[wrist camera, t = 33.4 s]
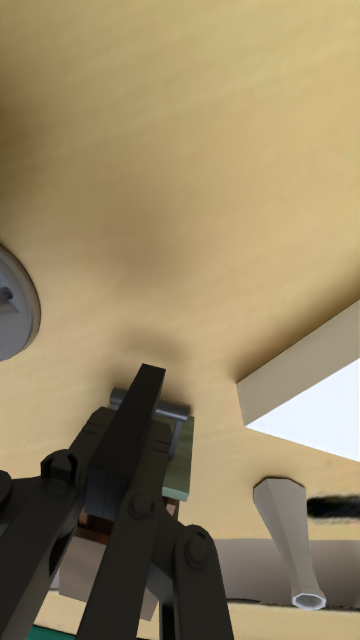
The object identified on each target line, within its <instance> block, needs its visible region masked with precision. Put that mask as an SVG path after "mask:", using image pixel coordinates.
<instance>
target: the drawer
mask: <svg viewBox="0 0 360 640" xmlns="http://www.w3.org/2000/svg"><path fill="white" fill-rule="evenodd" d="M128 390H129V389H125V388H121V387H117V386H115V387H114V389H113V390H112V393H111V396H110V400H109V402H110V405H109V406H108V408H110V409H113V410H118V408H119V406H120V404H121V403H122V401H123V399H124V397H125V395H126V393H127V392H128ZM189 409H190V406H189V405H186V404H182V403H179V402H175V401H171V400H167V399H163V398H159V402H158V406H157V409H156V412H155V415H154V419H153V420H157V421H161V422H164V423H168V424H170V426H171V430H172V439H171V444H170V450H169V455H168V461H167V466H166V472H165V477H164V483H163V488H162V497H163V502H164V505H165V507H166V509H167V510H168V512H169V513H170V514H171V515H172V516H173V513H174V510H175V507H176V500H181V501H184V502H186V501H187V498H188V495H189V488H190V474H191V460H192V445H193V431H194V417H192V416H188V415H189ZM113 524H114V521H111V520H108V519H105V518H101V517H98V516H94V515H91V514H87V513H84V507H83V510H82V512H81V514H80V516H79V527H81V528H85V529H88V530H92V531H95V532H99V533H102V534H106V535H109V536H110V533H111V530H112V527H113Z"/></svg>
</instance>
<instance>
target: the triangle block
mask: <svg viewBox="0 0 360 640" xmlns="http://www.w3.org/2000/svg"><path fill="white" fill-rule="evenodd" d="M236 388H237V392H238V397H239V402H240V407H241V412H242V417H243V422H244V427H247V428H250V429H253V430H256V431H260V432H263V433H266V434H270V435H273V436H276V437H279V438H283V439H286V440H289V441H293V442H296V443H299V444H302V445H306V446H309V447H312V448H315V449H319V450H322V451H325V452H329V453H332V454H335V455H338V456H342V457H345V458H348V459H352V460H355V461H358V462H360V299H359V300H358V301H356V302H355V303H353V304H352V305H351V306H349V307H348V308H346V309H345V310H343V311H342V312H340V313H339V314H337V315H336V316H335V317H333V318H332V319H330V320H329V321H327V322H326V323H324V324H323V325H321V326H320V327H319V328H317V329H316V330H314V331H313V332H311V333H310V334H308V335H307V336H305V337H304V338H302V339H301V340H300V341H298V342H297V343H295V344H294V345H292V346H291V347H289V348H288V349H286V350H285V351H284V352H282V353H281V354H279V355H278V356H276V357H275V358H273V359H272V360H270V361H269V362H267V363H266V364H265V365H263V366H262V367H260V368H259V369H257V370H256V371H254V372H253V373H251V374H250V375H249V376H247V377H246V378H244V379H243V380H241V381H240V382H238V383H237V384H236Z"/></svg>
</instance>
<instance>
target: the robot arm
mask: <svg viewBox="0 0 360 640" xmlns="http://www.w3.org/2000/svg"><path fill="white" fill-rule="evenodd" d="M39 324H40V307H39V302H38V298H37V294H36V292H35V289H34V287H33V284H32V282H31V280H30V279H29V277H28V275H27V273H26V272H25V271H24V269H23V268H22V266H21V265H20V264H19V263H18V261H17V260H16V259H15V258H14V257H13V256H12V255H11V254H10V253H9V252H8V251H7V250H5V249H4V248H3V247H2V246H0V361H3V360H6V359H9V358H11V357H13V356H14V355H16V354H18V353H19V352H21V351H23V350H24V349H26V348H27V347H28V346H29V345H30V344H31V343H32V342H33V340H34V338H35V337H36V334H37V332H38V329H39ZM165 371H166V369H163V368H159V367H155V366H151V365H147V364H144V363H143V364H142V366H141V367H140V369H139V371H138V373H137V375H136V377H135V379H134V380H133V382H132V384H131V386H130V388H129V390H128V392H127V393H126V395H125V397H124V399H123V401H122V403H121V404H120V406H119V408H118V410H113V409H110V408H106V407H100V408H99V409H98V410H96V411H95V412H94V413H92V415H91V416H90V418H89V419H88V421H87V423H86V424H85V425H84V427H83V428H82V430H81V431H80V433H79V434H78V436H77V437H76V439H75V440H74V442H73V443H72V445H71V446H70V448H69V449H62V450H58V451H55V452H53V453H51V454H50V455H48V456H47V457H46V458H45V459H44V460H43V461H42V462H41V475H40V476H37V477H32V478H20V479H11V476H10V475H9V474H8V472H5V471H2V470H0V640H26V639H27V636H28V634H29V632H30V630H31V628H32V625H33V623H34V621H35V619H36V617H37V614H38V612H39V610H40V608H41V606H42V604H43V601H44V599H45V597H46V595H47V593H48V590H49V588H50V586H51V584H52V582H53V579H54V577H55V575H56V573H57V571H58V568H59V566H60V564H61V562H62V560H63V557H64V555H65V553H66V551H67V549H68V547H69V544H70V542H71V540H72V538H73V536H74V533H75V530H76V527H77V520H78V518H79V516H80V514H81V512H82V510H83V507H84V513H87V514H91V515H94V516H98V517H101V518H105V519H108V520H111V521H114V524H113V527H112V530H111V533H110V536H109V539H108V542H107V545H106V548H105V551H104V554H103V557H102V560H101V563H100V566H99V569H98V572H97V575H96V578H95V581H94V584H93V587H92V590H91V592H90V595H89V598H88V601H87V604H86V607H85V610H84V613H83V616H82V619H81V622H80V625H79V628H78V631H77V634H76V637H75V640H136V636H137V630H138V625H139V619H140V614H141V608H142V603H143V597H144V592H145V587H146V588H147V589H148V590H149V591H150V592H151V593H152V594H153V595H154V596H155V597H156V598H157V599H158V600H159V637H160V640H234V635H233V630H232V625H231V620H230V615H229V610H228V605H227V600H226V595H225V590H224V585H223V579H222V574H221V569H220V564H219V559H218V554H217V550H216V547H215V544H214V541H213V539H212V538H211V536H210V535H209V533H208V532H207V531H206V530H205V529H203V528H202V527H201V526H198V525H193V524H192V525H189V526H184V525H183V524H182V523H180V522H179V521H178V520H176V519H175V518H174V517H173V516H172V515H171V514H170V513H169V512H168V510H167V509H166V507H165V505H164V502H163V497H162V488H163V483H164V477H165V472H166V466H167V461H168V455H169V450H170V444H171V439H172V430H171V426H170V424H168V423H164V422H161V421H157V420H153V419H154V415H155V412H156V409H157V406H158V402H159V398H160V393H161V389H162V384H163V380H164V376H165Z"/></svg>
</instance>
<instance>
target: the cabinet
mask: <svg viewBox="0 0 360 640" xmlns="http://www.w3.org/2000/svg"><path fill="white" fill-rule="evenodd" d="M179 502H180V500H176V507H175V510H174V513H173V517H174V518H175V519H176V520H178V511H179ZM108 539H109V535H106V534H102V533H99V532H95V531H92V530H88V529H85V528H81V527H79V518H78V520H77V527H76V530H75V533H74V536H73V538H72V540H71V542H70V544H69V547H68V549H67V551H66V553H65V555H64V557H63V560H62V562H61V564H60V575H59V594H60V595H63V596H66V597H70V598H73V599H76V600H80V601H83V602H86V603H87V601H88V598H89V595H90V592H91V590H92V587H93V584H94V581H95V578H96V575H97V572H98V569H99V566H100V563H101V560H102V557H103V554H104V551H105V548H106V545H107V542H108ZM157 603H158V599H157V598H156V597H155V596H154V595H153V594H152V593H151V592H150V591H149V590H148V589H147V588H146V587H145V592H144V597H143V603H142V608H141V614H140V619H144V620H147V621H151V618H152V616H153V613H154V611H155V608H156V606H157Z"/></svg>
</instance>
